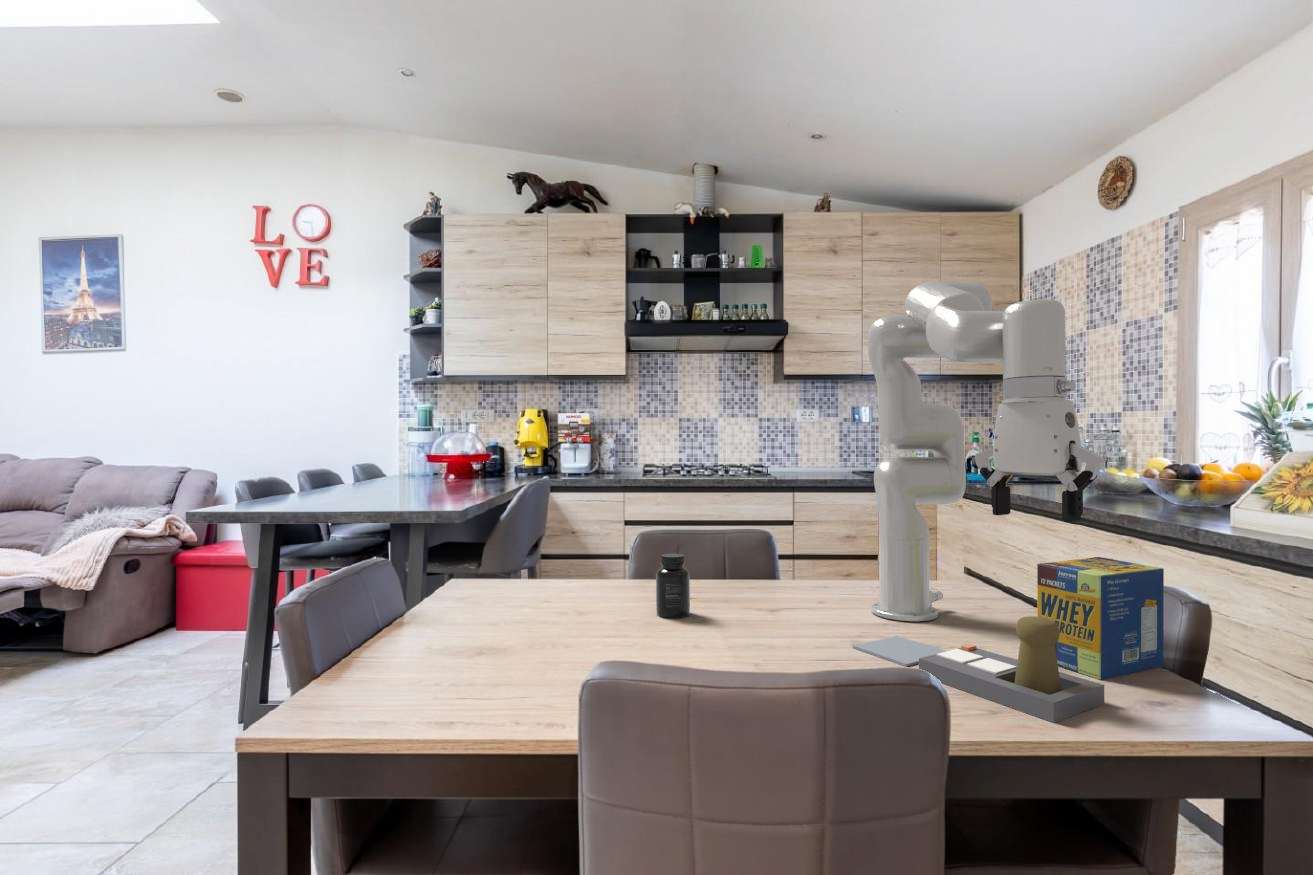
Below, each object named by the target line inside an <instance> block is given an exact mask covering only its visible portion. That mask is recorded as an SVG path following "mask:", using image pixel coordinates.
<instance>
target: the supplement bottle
mask: <svg viewBox="0 0 1313 875" xmlns="http://www.w3.org/2000/svg"><path fill="white" fill-rule="evenodd" d="M659 563H660V566H661V567H660V568H658V569H657V571H656V572H655V587H656V588H655V592H656V593H655V594H656V595H655V596H656V597H655V598H656V599H655V600H656V601H655V603H656V604H655V606H656V609H655V610H656V614H657V615H658V616H659V617H661V618H665V619H680V618H685V617H687V616H689V615H690V613H691V597H690V596H691V592H690V591H691V588H690V585H691V584H690V582H691V581H690V571H689V570H688V569H687V568H686V567H684V566H685V564H686V562H685V554H680V553H664V554H661V555H660V562H659Z"/></svg>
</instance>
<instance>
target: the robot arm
mask: <svg viewBox="0 0 1313 875" xmlns="http://www.w3.org/2000/svg"><path fill="white" fill-rule="evenodd" d="M992 299H993V298H992V294H991V293H990V291H989V289H988V288H987V287H986V286H985V285H984V284H982V283H980V282H977V281H963V280H962V281H959V280H958V281H956V280H955V281H950V280H949V281H948V280H947V281H945V280H943V281H942V280H936V281H927V282H921V283H920V284H918V285H916V286H915V287H914V288H912V289H911V290H910V291H909V293H908V294H907V296H906V298H905V302H904V309H905V313H906V314H892V315H886V316H882V317H879V318H878V319H876V320H875V321H874V322H872V324H871V326H870V328H869V331H868V336H867V356H868V359H869V362H870V366H871V369H872V372H873V376H874V379H875V381H876V382H875V383H876V390H877V409H878V410H877V411H878V429H879V431H878V432H879V437H880V440H881V444H882V445H883V447H885V448H886V449H888V450H894V451H921V452H922V451H929V452H930V451H931V452H932V455H933V457H932V456H930V457H929V456H927V457H925V456H898V457H896V456H895V457H891V458H890V457H889V458H886V459H884V460H881V461H880V462H879V463H878V464H877V465H876V466H875V469H874V472H873V484H874V491H875V496H876V502H877V511H878V543H879V544H878V566H879V567H878V571H879V572H878V574H879V575H878V579H879V581H878V584H879V585H878V586H879V587H878V588H879V590H878V592H879V593H878V598H879V600H878V601H877V602H874V603H873V604H872V605H871V612H872V614H874V615H875V616H878V617H880V618H883V619H889V620H894V621H901V622H902V621H903V622H928V621H932V620H935V619H937V618H938V617H939V611H938V609H937V608H935V607H933V603H934V602H939V601H942V600H943V599H944V593H943V591H941V590H935V591H932V590H930V528H929V525H928V522H927V521H926V518H925V517H924V516H923V514H922V513H921V512H920V511H919V509H918V508H917V506H919V505H949V504H951V505H953V504H955V503H958V502H959V501H961V499H962V498H963V496H964V495H965V492H966V486H967V474H966V454H965V453H966V452H965V438H964V436H965V435H964V427H963V422H962V418H961V416H960V414H959V412H958V411H957V410H956V409H955V408H954V407H953V406H951V405H948V404H942V403H924V401H923V396H922V395H923V394H922V382H921V379H920V377H919V375H918V374H917V373H916V370H914V368H913V367H912V366H911V365H910V363H908V362H907V361H906V360H905V358H914V359H915V358H916V359H919V358H920V359H925V358H926V359H927V358H931V359H933V358H935V359H936V358H937V359H938V358H939V359H943V358H944V359H947V360H949V361H953V362H957V363H1002V401H1003V402H1002V403H999V405H998V408H997V413H996V418H995V423H994V424H995V425H994V432H993V434H994V435H993V445H992V446H990V447H988V448H986V449H984V450H983V451H981V452H979V453H977V454H976V455H974V462H975V464H976V465H977V468H978V470H979V474H980V475H981V477H983V479H984V480H986V484H987V486H989V487H990V489H991V502H990V503H991V507H992V515H993V516H1005V515H1010V514H1011V487H1010V486H1009V485H1007V484H1008V482H1009V481H1011V479H1012V478H1013V476H1014V475H1021V476H1044V477H1045V476H1047V477H1049V476H1055V477H1057V479H1058V480H1059V481H1060V482H1061V484H1062V485H1063V486H1064V487H1065V488H1066V489H1065V490H1063V491H1062V492H1061V520H1062V521H1063V522H1065V523H1075V522H1080V521H1081V519H1082V515H1083V514H1084V500H1083V499H1084V496H1083V495H1084V491H1086V490H1087V489H1088V487H1089V486H1090V484H1092V483H1093V482H1094V481H1095V480H1096V479H1097V478H1098V474H1099V472H1101V471H1100V470H1102V467H1103V465H1104V463H1105V457H1103V456H1102V455H1100V454H1098V453H1096V452H1093V451H1091V450H1090V449H1088V448H1086V447H1084V446H1082V442H1081V432H1080V427H1079V420H1078V415H1077V413H1076V412H1077V411H1076V408H1075V405H1074V404H1075V403H1074V402H1073V400H1067V397H1068V393H1069V392H1074V391H1075V390H1076V387H1077V385H1076V382H1075V381H1074V380H1070V381H1069V380H1068V377H1066V376H1067V375H1066V374H1067V372H1066V366H1067V365H1066V364H1067V363H1066V359H1067V358H1066V354H1067V352H1066V309H1065V307H1064V305H1063V304H1062V302H1060V301H1058V300H1055V299H1046V298H1043V299H1029V300H1021V301H1018V302H1014V303H1012V304H1010V305H1008V306H1007V307H1006V308H1005V309H1004V310H992V309H993V308H992V307H993V300H992ZM992 459H993V467H994V468H993V467H992V466H991V462H990V461H991V460H992ZM1083 461H1084V462H1085V464H1086V465H1085V467H1084V469H1083V471H1082V467H1083Z"/></svg>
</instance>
